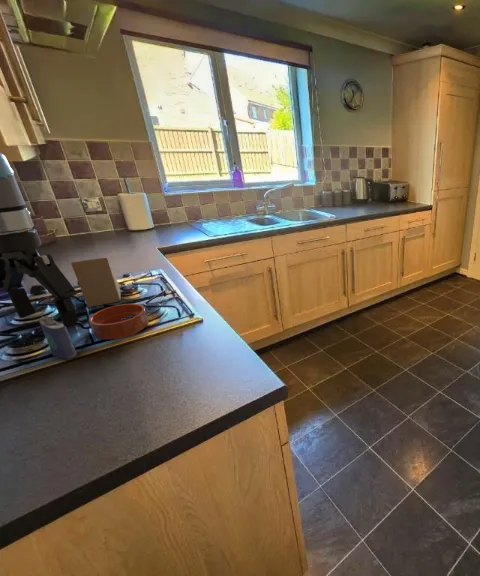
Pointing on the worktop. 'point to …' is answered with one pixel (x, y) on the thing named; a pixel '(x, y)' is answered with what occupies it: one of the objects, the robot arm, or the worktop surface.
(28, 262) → the robot arm
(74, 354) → the flask
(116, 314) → the bowl
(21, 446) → the worktop surface
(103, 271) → the sandwich container
